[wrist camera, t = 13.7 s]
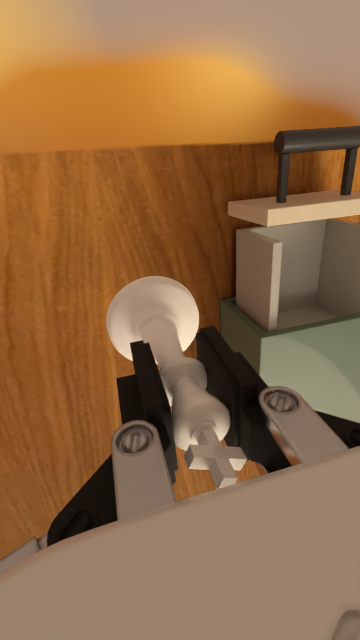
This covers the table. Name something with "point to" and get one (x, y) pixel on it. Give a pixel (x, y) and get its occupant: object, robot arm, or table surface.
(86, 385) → the table surface
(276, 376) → the cabinet
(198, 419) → the chess piece
